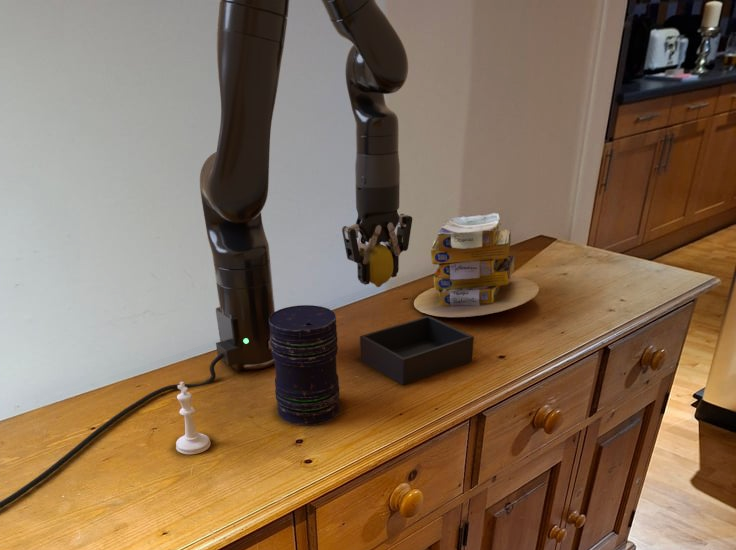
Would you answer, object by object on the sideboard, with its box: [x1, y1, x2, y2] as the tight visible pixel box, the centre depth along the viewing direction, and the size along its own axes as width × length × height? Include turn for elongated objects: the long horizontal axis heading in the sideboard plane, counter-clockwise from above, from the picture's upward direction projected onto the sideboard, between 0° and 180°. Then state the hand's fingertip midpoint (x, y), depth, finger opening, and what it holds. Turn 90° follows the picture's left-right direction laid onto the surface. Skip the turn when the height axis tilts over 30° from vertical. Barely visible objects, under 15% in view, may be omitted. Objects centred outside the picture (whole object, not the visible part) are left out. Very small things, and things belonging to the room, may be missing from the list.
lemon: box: [368, 242, 393, 288], centre depth 128 cm, size 6×6×8 cm
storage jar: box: [269, 304, 341, 426], centre depth 105 cm, size 10×10×15 cm
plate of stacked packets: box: [413, 212, 540, 318], centre depth 139 cm, size 25×25×17 cm
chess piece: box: [175, 381, 211, 455], centre depth 99 cm, size 5×5×10 cm
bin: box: [359, 315, 475, 386], centre depth 122 cm, size 15×12×4 cm
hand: (378, 279), depth 130 cm, fingers closed on lemon, 5 cm apart
